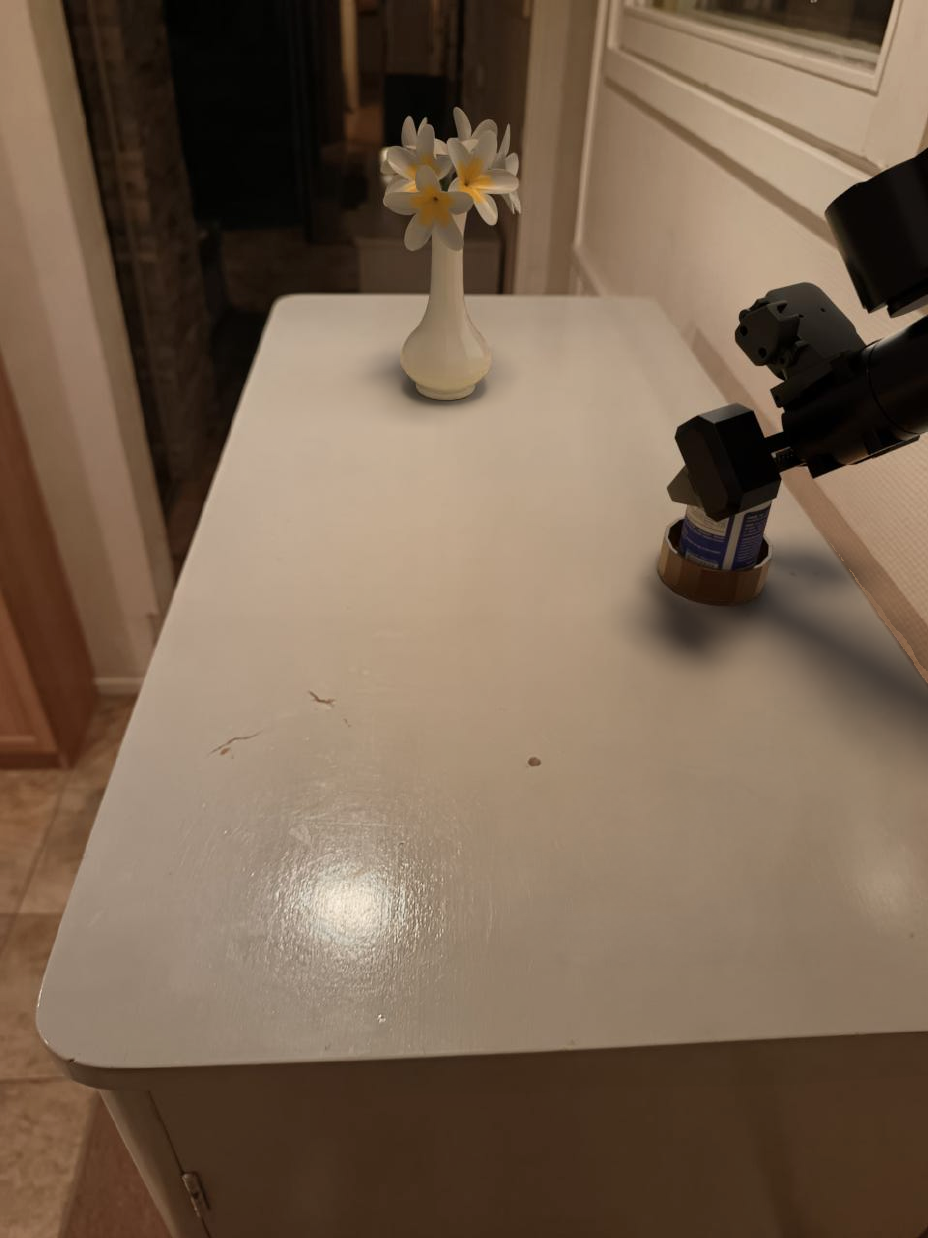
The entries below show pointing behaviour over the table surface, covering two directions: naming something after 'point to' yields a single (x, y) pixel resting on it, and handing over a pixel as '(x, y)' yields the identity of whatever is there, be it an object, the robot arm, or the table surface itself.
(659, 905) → the table surface
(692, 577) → the dock
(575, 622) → the table surface
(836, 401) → the robot arm
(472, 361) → the flower vase
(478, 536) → the table surface
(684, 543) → the pill bottle
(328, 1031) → the table surface
